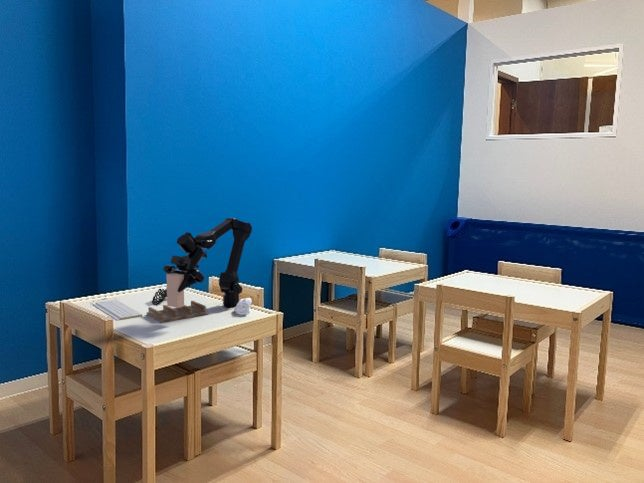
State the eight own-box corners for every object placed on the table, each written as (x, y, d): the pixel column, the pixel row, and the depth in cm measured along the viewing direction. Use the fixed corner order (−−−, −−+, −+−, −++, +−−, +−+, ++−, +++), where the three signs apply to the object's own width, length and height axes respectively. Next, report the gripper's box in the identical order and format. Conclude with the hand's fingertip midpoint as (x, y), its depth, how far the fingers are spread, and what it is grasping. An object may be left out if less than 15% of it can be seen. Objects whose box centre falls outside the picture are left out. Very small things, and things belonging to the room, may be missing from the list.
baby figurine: (240, 308, 245) (251, 293, 244) (251, 324, 237) (262, 309, 236) (226, 303, 239) (237, 287, 238) (237, 318, 231) (248, 303, 230)
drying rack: (191, 307, 244) (191, 299, 243) (208, 314, 233) (208, 306, 232) (146, 314, 230) (146, 306, 230) (161, 322, 219) (161, 314, 219)
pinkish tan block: (173, 303, 222) (173, 272, 221) (184, 306, 219) (183, 274, 217) (167, 305, 219) (166, 274, 218) (177, 307, 216) (177, 276, 214)
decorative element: (160, 306, 246) (160, 293, 245) (150, 305, 247) (149, 293, 246) (180, 295, 268) (179, 283, 267) (170, 294, 269) (170, 282, 268)
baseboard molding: (113, 322, 220) (142, 318, 228) (113, 315, 220) (142, 311, 228) (89, 306, 244) (116, 303, 252) (89, 300, 244) (116, 296, 251)
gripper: (165, 245, 224) (145, 276, 217) (198, 250, 215) (178, 282, 207) (180, 261, 232) (161, 291, 224) (212, 266, 222) (193, 298, 214)
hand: (172, 290), depth 217 cm, fingers closed on pinkish tan block, 6 cm apart
